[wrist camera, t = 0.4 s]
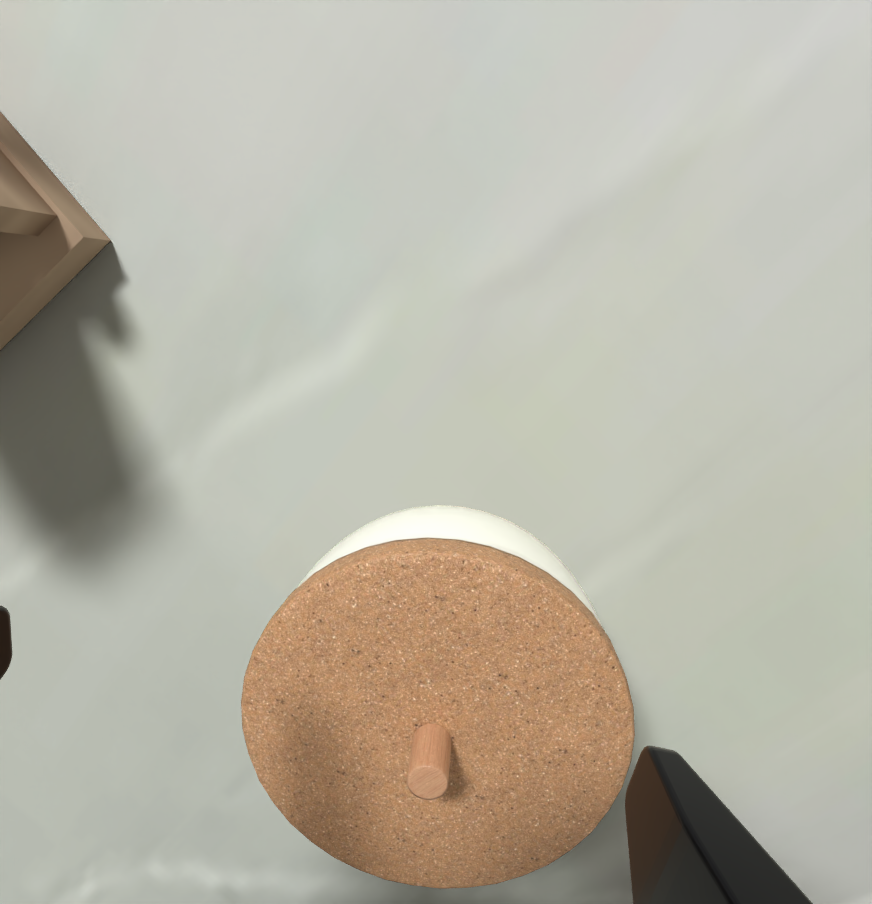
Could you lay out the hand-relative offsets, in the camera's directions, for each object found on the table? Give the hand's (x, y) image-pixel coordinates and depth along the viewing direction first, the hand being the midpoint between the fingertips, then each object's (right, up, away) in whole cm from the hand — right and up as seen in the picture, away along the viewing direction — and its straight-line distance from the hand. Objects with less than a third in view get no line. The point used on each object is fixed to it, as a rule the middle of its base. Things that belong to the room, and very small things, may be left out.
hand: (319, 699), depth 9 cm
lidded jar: (+2, -2, +16) cm, 16 cm away
